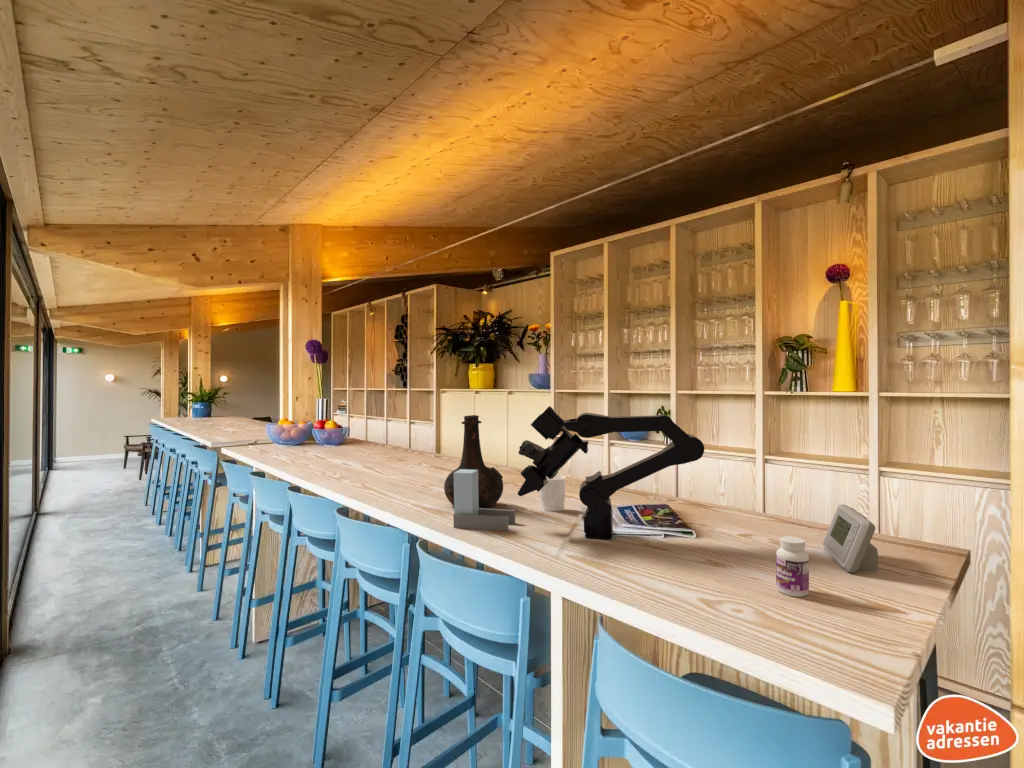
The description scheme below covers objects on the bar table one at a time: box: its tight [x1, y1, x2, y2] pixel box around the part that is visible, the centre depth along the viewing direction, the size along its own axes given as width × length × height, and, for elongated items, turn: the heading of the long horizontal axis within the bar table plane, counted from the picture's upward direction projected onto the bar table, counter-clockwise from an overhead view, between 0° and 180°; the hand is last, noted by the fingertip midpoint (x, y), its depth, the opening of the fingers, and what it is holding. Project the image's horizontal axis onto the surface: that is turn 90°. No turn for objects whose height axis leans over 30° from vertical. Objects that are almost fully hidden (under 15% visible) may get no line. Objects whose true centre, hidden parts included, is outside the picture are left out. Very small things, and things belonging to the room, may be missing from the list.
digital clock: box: [822, 503, 879, 573], centre depth 112 cm, size 16×9×11 cm, turn 154°
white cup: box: [539, 474, 567, 512], centre depth 157 cm, size 8×8×10 cm
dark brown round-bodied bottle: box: [443, 414, 504, 509], centre depth 162 cm, size 18×18×28 cm
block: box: [453, 469, 479, 515], centre depth 142 cm, size 5×5×14 cm
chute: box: [453, 508, 516, 532], centre depth 140 cm, size 14×8×4 cm, turn 74°
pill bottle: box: [775, 535, 810, 598], centre depth 98 cm, size 5×5×10 cm
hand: (519, 494), depth 138 cm, fingers closed
